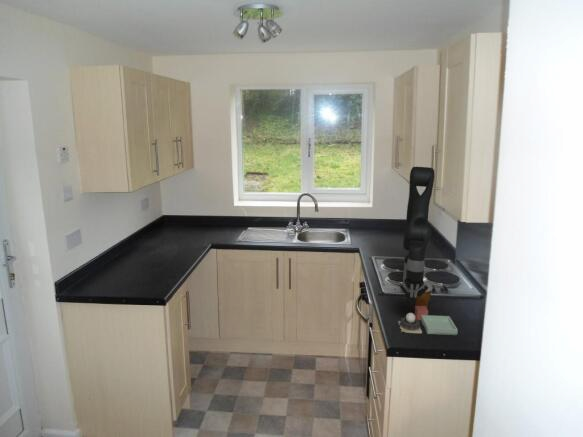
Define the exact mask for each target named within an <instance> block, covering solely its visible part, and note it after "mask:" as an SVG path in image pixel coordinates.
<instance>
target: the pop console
mask: <svg viewBox="0 0 583 437" xmlns="http://www.w3.org/2000/svg"><path fill="white" fill-rule="evenodd" d="M397 323H398V326H400V327H399V329H401V330H400V332H401V333H402V332H405V334H406V333H408V334H423V330H422V329H421V320H418V319H416V318H415V323H413V324H410V323H407V322H406V316H404V317H401V319H400V320H398V321H397Z"/></svg>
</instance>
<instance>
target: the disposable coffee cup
mask: <svg viewBox="0 0 583 437" xmlns="http://www.w3.org/2000/svg"><path fill="white" fill-rule="evenodd" d="M423 281H424V284H425V285H427V286H428V289H427V290H426V291H425V292H424V293H423V294H422V295H421V296H420V297H419V296H418V297H416V303H415V304H414V307H415V306H426V308H427V309H428V307H429V302H430V299H431V295H432V291H433V289H434V287H433V284H432V283H430V282H429V281H425V280H423ZM421 288H422V287H421ZM421 288H420V289H421ZM420 289H419V290H420ZM419 290H418V291H419Z"/></svg>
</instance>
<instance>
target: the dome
mask: <svg viewBox="0 0 583 437" xmlns="http://www.w3.org/2000/svg"><path fill="white" fill-rule="evenodd" d="M414 314H415V313H413V312H408V313H407V314H406V316H405V317H406V322H407V323H410V324H413V323H415V319H416V317H415V315H414Z"/></svg>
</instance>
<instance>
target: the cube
mask: <svg viewBox="0 0 583 437" xmlns="http://www.w3.org/2000/svg"><path fill="white" fill-rule="evenodd" d="M413 314H414V315H415V319H418V320H419V321H421V315H429V309H428V307H427V308H426V306H415V305H414V313H413Z"/></svg>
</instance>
